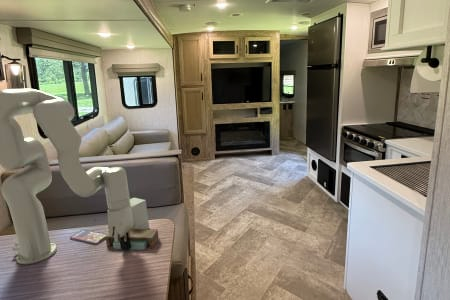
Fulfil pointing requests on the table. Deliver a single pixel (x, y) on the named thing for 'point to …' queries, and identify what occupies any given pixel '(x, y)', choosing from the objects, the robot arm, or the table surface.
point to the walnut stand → (139, 236)
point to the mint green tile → (134, 244)
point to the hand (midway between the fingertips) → (126, 249)
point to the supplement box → (139, 213)
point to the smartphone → (89, 237)
